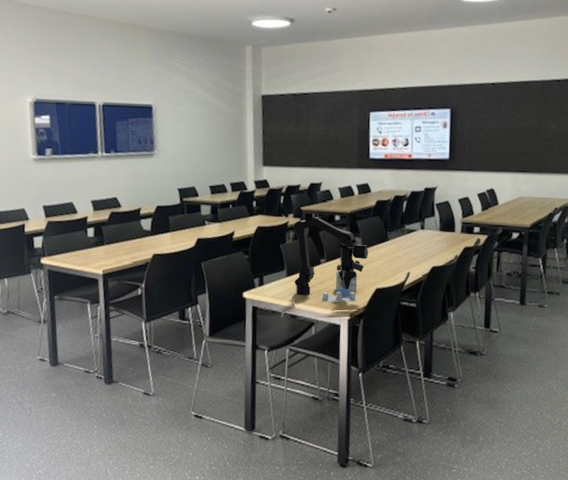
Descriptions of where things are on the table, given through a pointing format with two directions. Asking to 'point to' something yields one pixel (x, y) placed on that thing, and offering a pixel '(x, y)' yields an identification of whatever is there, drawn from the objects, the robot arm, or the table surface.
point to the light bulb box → (352, 284)
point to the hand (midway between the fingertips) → (345, 287)
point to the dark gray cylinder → (343, 285)
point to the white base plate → (340, 296)
